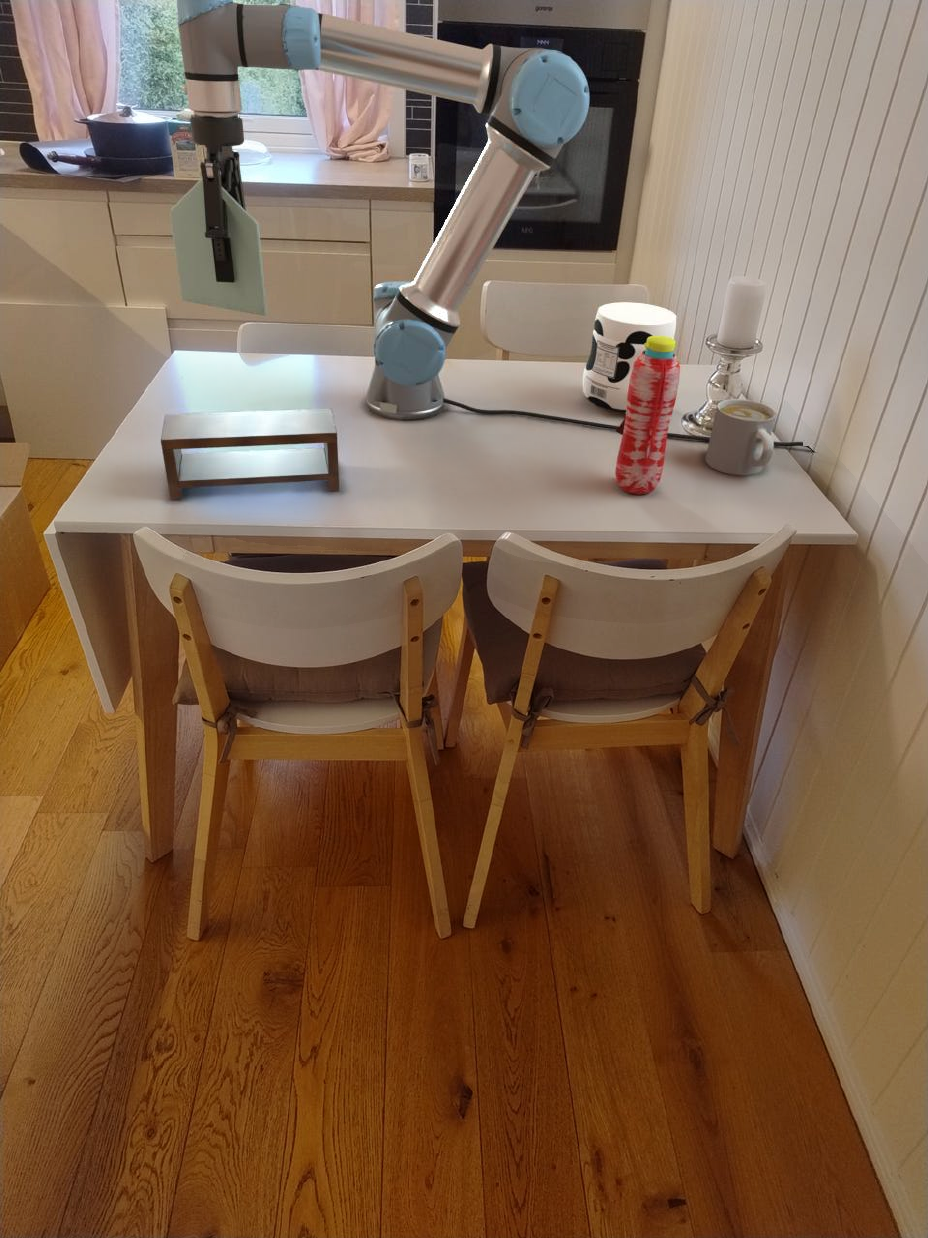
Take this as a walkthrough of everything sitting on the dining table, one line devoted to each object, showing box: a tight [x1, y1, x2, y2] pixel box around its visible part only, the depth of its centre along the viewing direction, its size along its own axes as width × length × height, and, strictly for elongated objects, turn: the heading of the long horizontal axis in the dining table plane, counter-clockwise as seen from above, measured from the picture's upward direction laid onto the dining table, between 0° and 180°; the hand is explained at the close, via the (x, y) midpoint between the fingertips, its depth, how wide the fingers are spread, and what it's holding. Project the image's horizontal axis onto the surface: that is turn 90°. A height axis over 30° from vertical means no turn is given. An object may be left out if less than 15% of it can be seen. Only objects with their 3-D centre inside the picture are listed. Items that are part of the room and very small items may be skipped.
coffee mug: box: [705, 398, 777, 476], centre depth 151 cm, size 13×10×10 cm
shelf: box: [160, 408, 341, 501], centre depth 138 cm, size 26×10×10 cm, turn 102°
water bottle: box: [614, 335, 681, 495], centre depth 140 cm, size 12×8×25 cm, turn 0°
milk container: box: [582, 301, 677, 414], centre depth 171 cm, size 17×17×18 cm
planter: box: [169, 177, 268, 317], centre depth 139 cm, size 16×8×20 cm, turn 66°
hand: (232, 273), depth 141 cm, fingers closed on planter, 9 cm apart
